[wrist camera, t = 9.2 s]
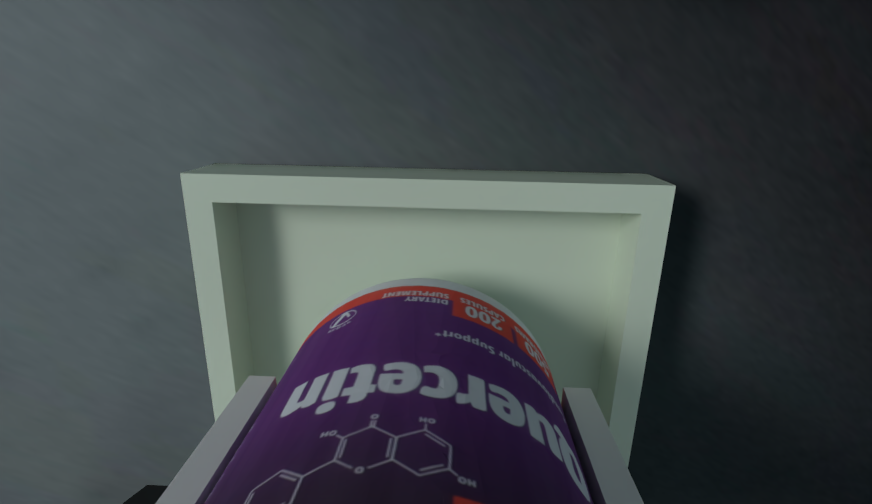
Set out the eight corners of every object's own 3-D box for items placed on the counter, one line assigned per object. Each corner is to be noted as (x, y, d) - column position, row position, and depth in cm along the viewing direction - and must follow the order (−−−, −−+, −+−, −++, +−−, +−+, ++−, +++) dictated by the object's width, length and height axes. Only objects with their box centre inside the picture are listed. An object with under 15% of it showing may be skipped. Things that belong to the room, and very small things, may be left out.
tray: (215, 163, 16) (180, 173, 14) (646, 173, 15) (675, 185, 13) (255, 502, 20) (233, 548, 18) (595, 517, 19) (610, 566, 17)
